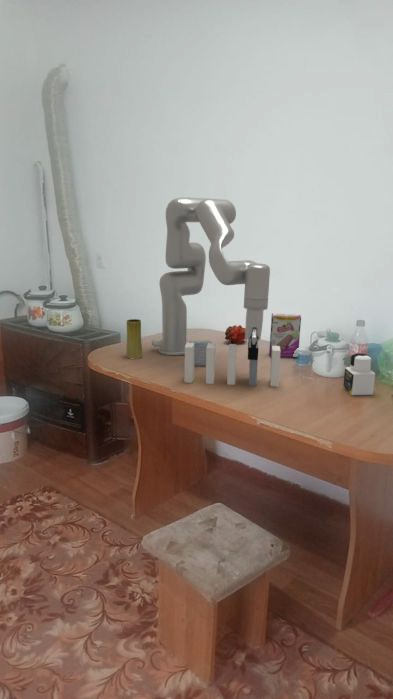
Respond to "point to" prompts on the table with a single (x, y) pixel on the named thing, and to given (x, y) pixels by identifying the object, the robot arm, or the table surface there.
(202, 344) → the medicine box
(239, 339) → the dragon fruit
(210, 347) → the domino
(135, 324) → the vase
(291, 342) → the candy bar box
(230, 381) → the domino
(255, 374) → the domino
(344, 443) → the table surface
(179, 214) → the robot arm
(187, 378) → the domino
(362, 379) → the medicine bottle
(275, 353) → the domino
